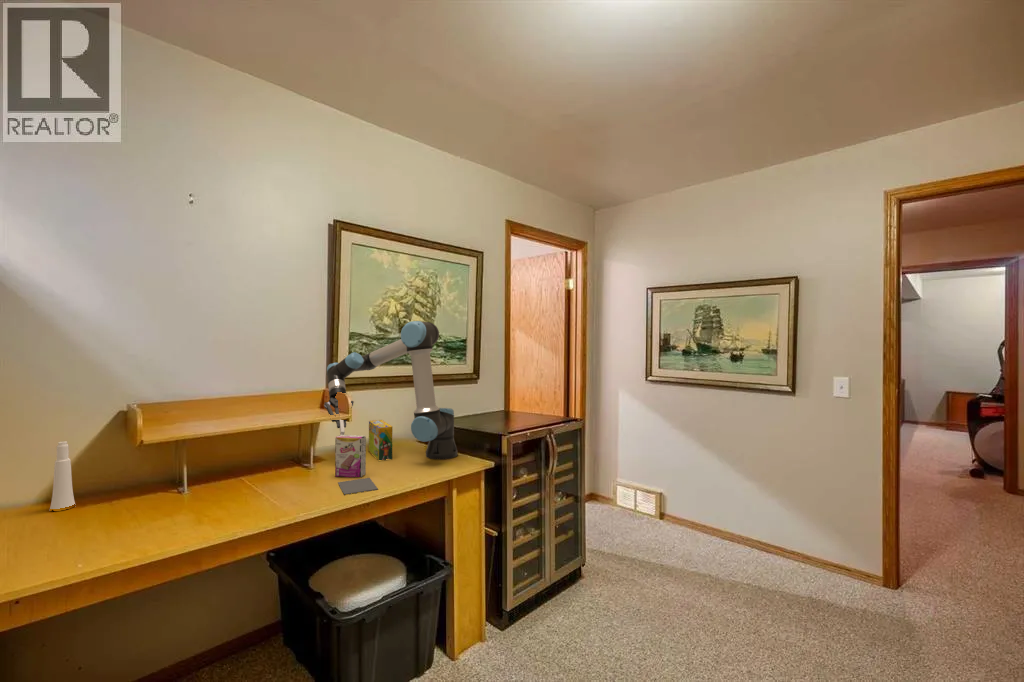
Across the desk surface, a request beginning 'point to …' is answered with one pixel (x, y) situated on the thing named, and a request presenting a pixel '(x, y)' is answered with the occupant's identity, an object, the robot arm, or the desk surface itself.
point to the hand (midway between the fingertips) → (342, 433)
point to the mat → (357, 486)
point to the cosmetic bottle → (62, 479)
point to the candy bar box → (350, 456)
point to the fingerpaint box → (380, 439)
